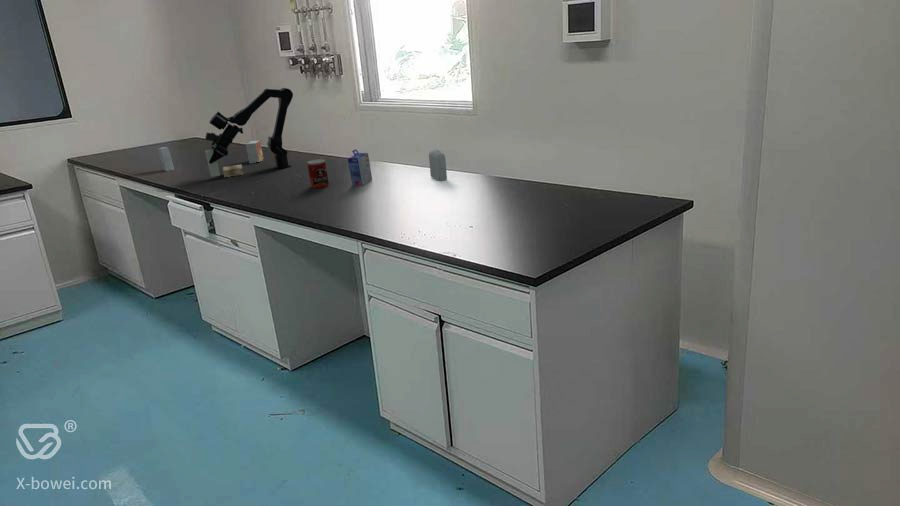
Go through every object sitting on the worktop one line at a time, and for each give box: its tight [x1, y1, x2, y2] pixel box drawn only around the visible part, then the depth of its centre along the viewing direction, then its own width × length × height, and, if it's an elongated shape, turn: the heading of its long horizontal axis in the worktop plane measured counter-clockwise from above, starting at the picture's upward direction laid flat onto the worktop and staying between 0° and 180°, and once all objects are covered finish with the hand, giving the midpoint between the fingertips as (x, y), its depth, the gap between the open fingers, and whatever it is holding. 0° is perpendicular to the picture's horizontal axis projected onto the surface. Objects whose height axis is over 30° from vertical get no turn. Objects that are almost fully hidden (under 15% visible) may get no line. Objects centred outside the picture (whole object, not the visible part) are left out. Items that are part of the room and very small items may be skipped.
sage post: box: [204, 148, 221, 178], centre depth 303 cm, size 4×5×12 cm
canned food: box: [307, 158, 329, 189], centre depth 272 cm, size 8×8×11 cm
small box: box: [245, 140, 264, 164], centre depth 336 cm, size 8×6×10 cm
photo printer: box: [428, 149, 448, 182], centre depth 266 cm, size 10×4×12 cm, turn 25°
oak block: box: [222, 164, 245, 178], centre depth 310 cm, size 9×9×4 cm
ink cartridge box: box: [347, 149, 373, 187], centre depth 270 cm, size 10×6×14 cm, turn 161°
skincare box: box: [157, 146, 175, 172], centre depth 334 cm, size 6×4×12 cm
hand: (209, 162), depth 302 cm, fingers closed on sage post, 5 cm apart
